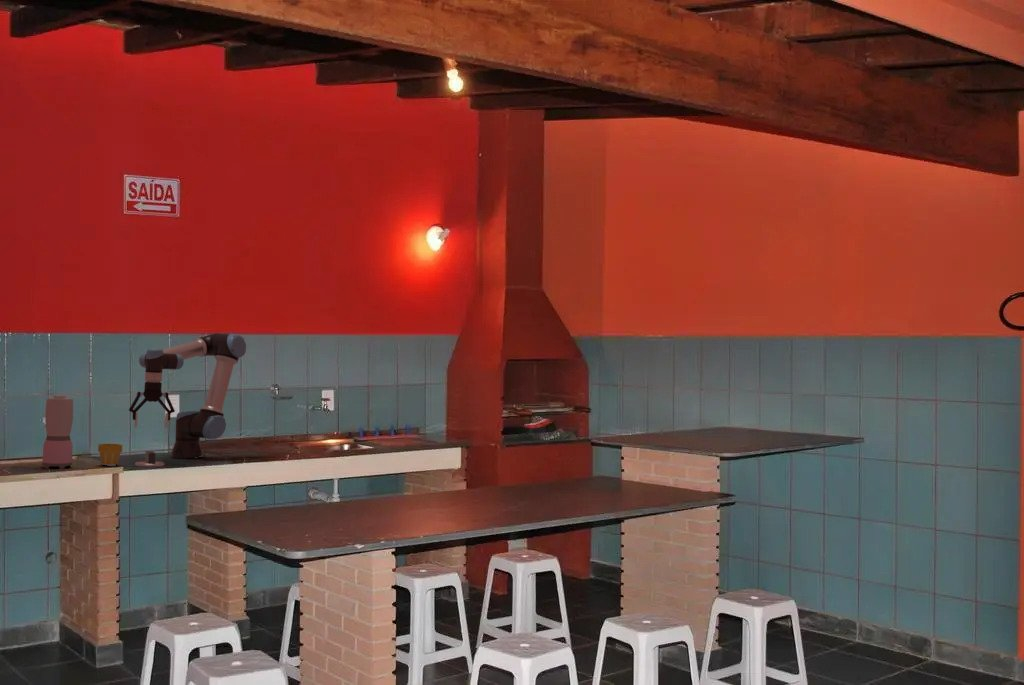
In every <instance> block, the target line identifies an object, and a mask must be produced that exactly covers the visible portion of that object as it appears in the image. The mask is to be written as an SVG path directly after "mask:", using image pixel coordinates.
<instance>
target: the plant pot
mask: <svg viewBox="0 0 1024 685" xmlns="http://www.w3.org/2000/svg"><path fill="white" fill-rule="evenodd" d="M97 446H98V447H97V448H98V449H97V451H98V453H99V456H100V464H101V463H103V464H117V465H118V463H119V459H120V455H121V453H122V452H123V444H120V443H99V444H98V445H97Z"/></svg>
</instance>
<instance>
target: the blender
mask: <svg viewBox="0 0 1024 685" xmlns="http://www.w3.org/2000/svg"><path fill="white" fill-rule="evenodd" d="M44 415H45V419H44V420H45V422H44V423H45V429H46V430H45V431H46V439H45V440H44V442H43V445H42V464H41V465H42V466H43V467H44V469H50V467H58V468H59V470H64V469H65V467H67V466H73V450H74V447H73V442H72V440H71V431H72V427H73V421H74V420H73V419H74V399H73V398H71V397H67V395H63V394H62V395H61V394H56V395H55V394H54V395H53V397H47V399H46V401H45V414H44ZM63 468H64V469H63Z"/></svg>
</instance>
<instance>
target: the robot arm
mask: <svg viewBox="0 0 1024 685" xmlns="http://www.w3.org/2000/svg"><path fill="white" fill-rule="evenodd" d="M246 351H247V343H246V342H245V339H244V336H241V335H240V334H237V333H236V334H235V333H221V332H220V333H211V334H208V335H204V336H200V337H198V338H195V339H194V340H193V341H189V342H186V343H182V344H179V345H175V346H171V347H168V348H164V349H162V348H161V349H160V348H148V349H146V352H143V353H141V354H140V356H139V357H138V363H139V365H140V366H141V367H142V368H144V370H145V373H144V381H145V382H144V390H143V391H144V392H141V391H137V392H136V397H135V398H134V400H133V402H132V404H131V405H130V407H129V409H128V411H129V412H131V413H132V420H133V421H134V428H138V416H139V413H138V411H139V410H140V409H141V408H142V407H143V406H144V405H145V403H147V402H149V403H151V402H153V403H157V402H158V403H159V404H160V406H161V407H162V408H163V409H164V410H165V411H166V413H165V416H164V417H165V421H164V427H165V428H166V429H167V428H169V427H168V423H169V421H170V420H171V415H172V413H175V411H176V410H175V408H174V406H173V403H172V402H171V399H170V396H169V393H168V392H167V391H166V392H162V389H163V388H162V381H163V370H176V371H177V370H181V369H182V368H183V366H184V363H185V360H187V359H192V358H195V357H200V358H202V357H211V356H212V357H214V358H215V361H216V362H215V366H214V370H213V373H212V378H211V381H210V385H209V389H208V391H207V396H206V400H205V402H204V403H205V404H204V405H203V407H202V408H200V409H199V410H192V411H191V410H189V411H181V412H180V411H179V412H177V413H176V416H175V417H176V419H175V441H174V445H173V447H172V450H171V452H170V457H171V458H173V459H182V458H183V459H185V460H186V458H194V459H196V458H195V457H199V456H201V455H203V449H202V447H201V443H200V440H201V439H208V440H213V439H214V440H215V439H218V438H220V437H221V436H222V435H223V434H224V433H225V431H226V427H227V422H226V419H225V417H224V415H225V414H224V412H223V407H224V405H225V404H224V403H225V398H226V395H227V392H228V388H229V384H230V381H231V377H232V373H233V369H234V366H235V365H236V364H238V363H239V359H240V358H242V357H243V356H244V355H245V354H246ZM142 396H143V397H144V399H143V400H142V401H141V402H140V403H139V404H137V403H138V401H139V399H140V398H142ZM162 396H163V397H164V398H165V401H166V402H167V405H166V404H165V403H164V402H163V400H162V399H161V398H162ZM136 404H137V406H136ZM135 406H136V407H135ZM167 406H168V407H169V408H168V407H167ZM203 456H204V455H203Z"/></svg>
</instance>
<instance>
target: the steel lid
mask: <svg viewBox="0 0 1024 685" xmlns="http://www.w3.org/2000/svg"><path fill="white" fill-rule="evenodd" d="M134 465H135V466H137V467H138V466H139V467H163V466H165V465H166V462H163V461H156V452H154V451H153V450H146V451H145V459H144V460H143V461H136V462H135V464H134Z"/></svg>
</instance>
